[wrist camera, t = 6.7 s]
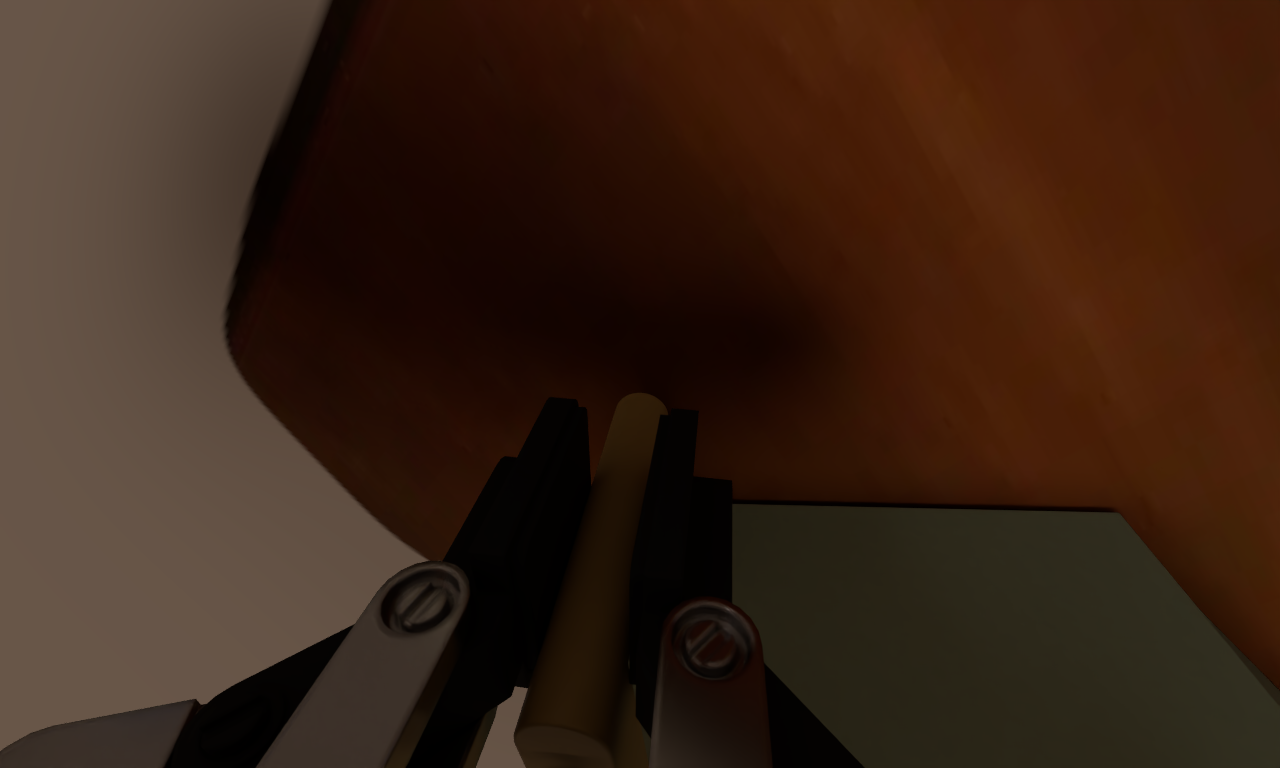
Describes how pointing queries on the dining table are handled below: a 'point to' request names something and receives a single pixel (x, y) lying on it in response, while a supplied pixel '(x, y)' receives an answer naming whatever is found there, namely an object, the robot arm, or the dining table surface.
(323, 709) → the robot arm
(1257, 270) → the dining table surface
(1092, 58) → the dining table surface
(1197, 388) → the dining table surface
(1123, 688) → the cupboard door
